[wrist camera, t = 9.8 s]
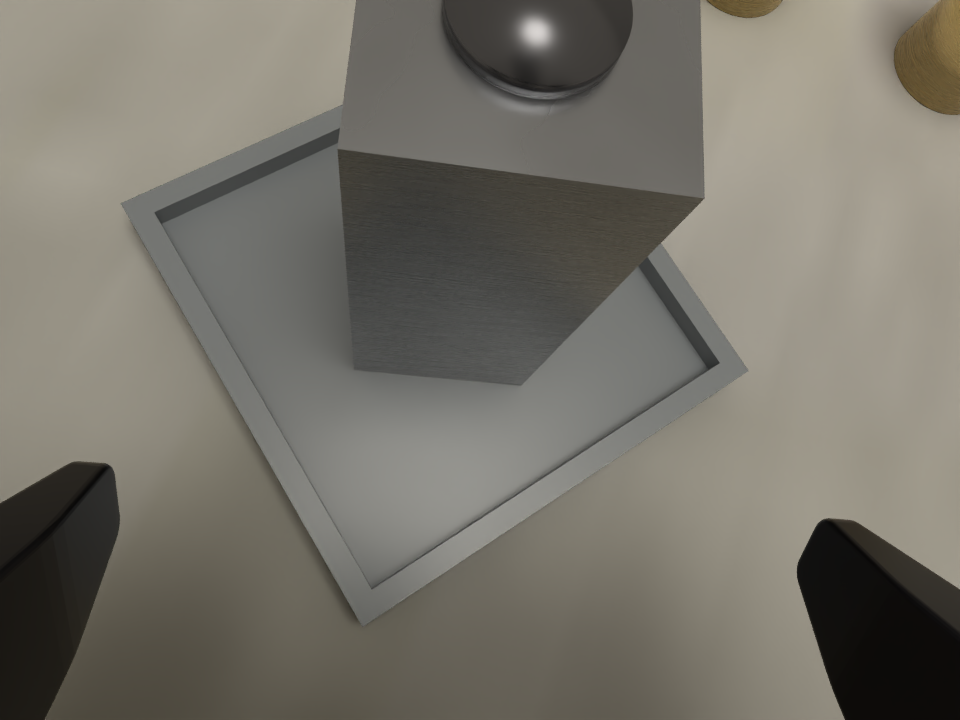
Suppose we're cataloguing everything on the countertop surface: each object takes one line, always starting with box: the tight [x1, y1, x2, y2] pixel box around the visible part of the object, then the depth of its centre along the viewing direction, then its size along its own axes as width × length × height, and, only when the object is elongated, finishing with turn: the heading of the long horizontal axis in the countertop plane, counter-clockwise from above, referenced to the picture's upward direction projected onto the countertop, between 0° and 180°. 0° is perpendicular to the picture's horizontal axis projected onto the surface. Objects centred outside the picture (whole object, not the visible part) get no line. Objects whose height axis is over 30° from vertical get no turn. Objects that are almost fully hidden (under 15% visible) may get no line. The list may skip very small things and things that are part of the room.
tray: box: [121, 105, 748, 627], centre depth 20 cm, size 12×12×1 cm
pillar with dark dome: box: [337, 0, 704, 386], centre depth 14 cm, size 4×4×11 cm
